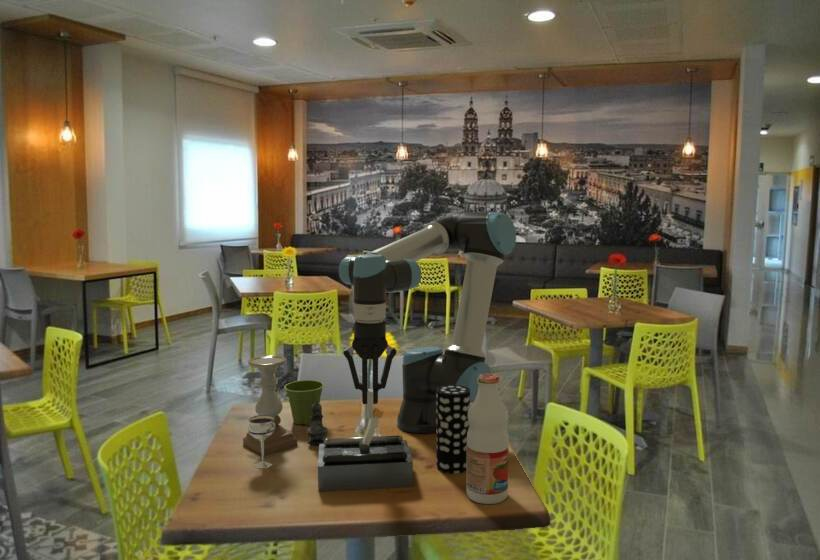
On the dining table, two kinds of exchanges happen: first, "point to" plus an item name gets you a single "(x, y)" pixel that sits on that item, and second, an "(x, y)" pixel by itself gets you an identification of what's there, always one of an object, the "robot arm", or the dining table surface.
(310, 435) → the salt shaker
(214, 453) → the dining table surface
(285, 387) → the plant pot
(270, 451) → the candle holder
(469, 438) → the fruit juice
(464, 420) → the spotted tube
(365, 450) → the breaker lever
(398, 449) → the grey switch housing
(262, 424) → the wineglass
